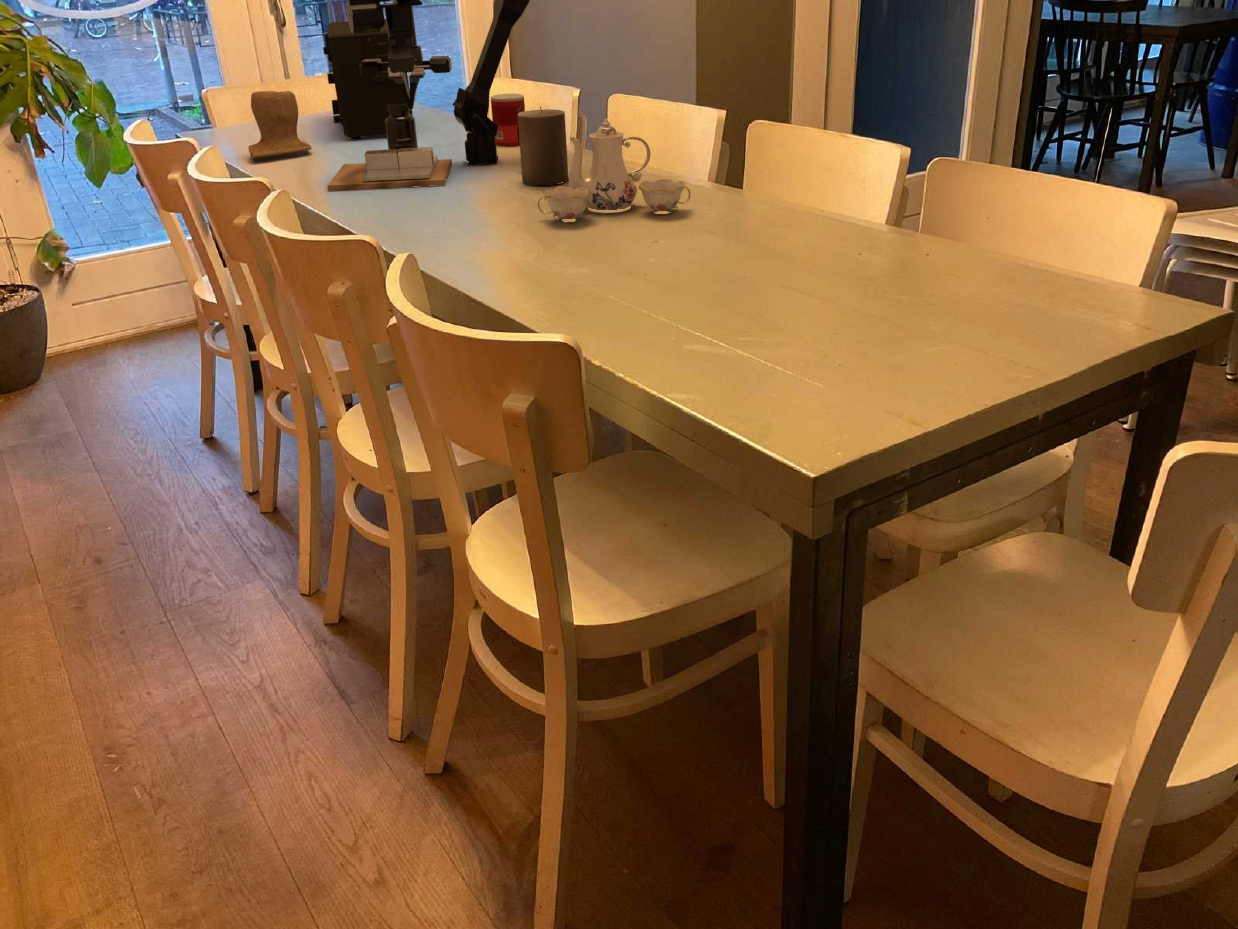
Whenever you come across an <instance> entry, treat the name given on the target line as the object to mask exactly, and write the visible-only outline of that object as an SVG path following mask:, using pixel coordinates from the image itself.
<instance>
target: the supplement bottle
mask: <svg viewBox="0 0 1238 929" xmlns="http://www.w3.org/2000/svg"><path fill="white" fill-rule="evenodd" d="M387 105H388V112H389V115H388V116H387V117H386V119H385V126H386V134H387V135H386V141H387V148H388V149H387V150H391V149H403V148H419V146H418V136H417V128H416V120H415V117H414V116H412V115H411V114H409V111H410V109H409V108H408V105H407V103H406V102H391V103H388V104H387Z"/></svg>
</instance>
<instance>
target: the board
mask: <svg viewBox="0 0 1238 929" xmlns="http://www.w3.org/2000/svg"><path fill="white" fill-rule="evenodd" d="M452 166H453V160H452V158H449V159H448V158H446V159H438V161H437V164H436V166H435V168H434V171H433V172H432V174H431V176H430V178H419V179H399V180H378V181H362V176H363V175H364V173H365V172H366V170H367V168H366V162H364V163H363V162H362V163H358V162H357V163H343V164H342V166H341V167H340V168H339V170H338V171H337V173H336V174H335V175H334V176H333V177H332V179H331V180H330V181H329V183H328V184H327V191H328V192H340V191H341V192H344V191H363V189H367V190H383V189H384V190H385V189H399V188H398V187H408V188H414V187H413V186H428V187H430V186H429V185H445V186H446V183H445V182H447V180H448V178H447V177H449V174H450V172H451V169H450V168H452ZM449 171H450V172H449ZM446 179H447V180H446Z"/></svg>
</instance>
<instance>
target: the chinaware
mask: <svg viewBox="0 0 1238 929" xmlns="http://www.w3.org/2000/svg"><path fill="white" fill-rule="evenodd" d="M588 136H589V138H590V141H591V142H590V143H591V146H592V161H591V168H590V171H589V172H590V173H589V175H588V177H585V178H584V177H583V174H582V173H583V172H582V170H583V169H582V168H583V153H584V152H583V145H582V143H581V141H580V140H579V139H577V138H576V137H575V136H574V137H569V139H568V140H569V141H570V142H571V143H572V144H573V146H574V152H573V157H572V161H571V165H570V167H569V168H570V169H569V171H568V182H569V186H562V185H561V186H558V187H555V188H554V189H553V190H552V191H551V190H543V192H542V194H543V196H541V197H540V198H539V199H538V201H537V208H538V210H539V211H540V212H541V213H542V214H545V215H546V214H547V215H548V214H550V213H551V214H552V218H553V217H555V216H557V218H559V219H561V220H562V219H573V218H575V219H577V218H578V217H580V216H581V215H582V214H583V213H584V212H585V210H586V209H587V208H588V207H589V208H591V209H596V210H617V209H625V208H627V207H629V206H630V205H631V206H632V204H633V202H634V200H635V198H636V196H637V194H638V189H639V191H641V193H642V197H643V199H644V202H645V204H646V205H647V206H648V207H649V208H650V209H651V210H653V211H654V212H655V211H670V210H672V209H674V208H677V209H678V206H677V205H678V204H680V205H681V204H682V205H683V204H686V203H688V202H689V200H690V198H691V191H690V189H689V187H687V186H686V185H685V184H686V182H685V181H684V180H679V181H674V180H672V179H669V178H660V179H657V180H655V181H649V180H642V181H641V182H640V183H639V186H638V187H637V185H636V184H635V183H638V182H639V181H640V180H641V179H642V176H643V175H642V173H641V172H640V171H642V170H644V169H645V167H647V165H648V164H649V162H650V161H651V160H650V158H651V148H650V146H649V144H648V142H647V141H645V139H643V138H641V137H640V136H627V137H624V136H626V135H625V133H624V132H621V131H617V130H616V127H614V126H612V125H611V122H609V119H608V118H604V120H603V122H602V126H600V127H598V128H597V130H596V132H593V133H590V134H588ZM627 140H633V141H634V140H635V141H638V142H641V143H642V144H643V145H644V147H645V148H646V158H645V160H644V163H643V164H642V165H641V166H640V167H637V168H636V169H634V170H631V171H629V173H628V170H627V169H626V166H625V162H624V157H623V146H624V147H625V148H627V149H628V148H630V147H631V142H629V141H627ZM685 189H686V190H687V191H688V197H687V199H686V200H685V201H682V202H681V201H680V199H681V197H682V192H683V191H684V190H685ZM542 199H544V201H547V204H548V207H549V209H550V210H551V211H544V210H542V208H541V206H540V204H541V202H540V201H541V200H542ZM576 217H577V218H576Z"/></svg>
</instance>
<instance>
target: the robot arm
mask: <svg viewBox="0 0 1238 929" xmlns="http://www.w3.org/2000/svg"><path fill="white" fill-rule="evenodd" d="M390 1H391V0H347V14H346V16H347V21H348V23H349V27H350V31H351V33H352V34H358V33H371V32H380V28H381V27H383V26H384V25H385V19H386V24H387V31H388V39H389V49H388V61H389V62H381V59H364V60H363V61H362V62H361V63H360V64H359V70H360V76H375V75H376V74H377V73H378V72H384V71H388V73H389V77H388V78H389V79H393V80H394V81H395V82H396V84H397V85H398V87H399V88H400V90H401V92H402V94H403V97H404V99H405V101H406V103H407V105H408V108H409V109H412V110H413V109H414V106H415V100H416V95H417V90H418V86H419V84H420V79H422V78H423V79H424V77H425V76H426V71H427V70H430V71H432V72H433V73H434V74H448V73H451V71H452V70H453V69H452V66H453V65H452V59H451V58H450V57H449V56H448V55H433V56H431V57H430V58H429V60H424V56H423V51H422V48H421V47H422V46H421V45H418V42H417V34H416V32H417V31H416V24H415V16H414V7H415V6H422V5H423V2H422V1H421V0H392V2H391V3H388V2H390ZM530 1H531V0H493V6H492V9H493V10H492V12H493V13H492V14H493V15H492V22H491V23H490V27H489V28H488V32H487V35H486V39H485V41H484V45H483V47H482V50H481V52H480V55H479V58H478V60H477V64H476V66H475V69H474V72H473V74H472V78H471V81H470V82H469V84H468V86H466V88H465V89H463V88H462V87H458V90H457V94H456V98H455V100H454V102H452V104H451V105H452V106H453V107H454V108H453V116H454V118H455V120H456V121H457V122H458V124H460V125H461V126H462V127H463V128H464V130H465V132H466V139H465V141H464V150H465V158H466V162H467V165H468V166H473V165H474V166H475V165H476V166H478V165H493V164H495V165H496V164H498V162H499V155H498V151H497V150H498V148H497V147H498V146H497V145H496V134H497V130H498V126H497V125H496V124H495V123H494V122H493V120H492V118H489V117H488V114H489V109H490V94H491V93H490V92H491V89H492V85H493V83H494V80H495V77H496V74H497V71H498V69H499V66H500V63H501V61H502V57H503V54H504V51H505V48H506V46H507V43H508V41H509V38H510V35H511V33H512V30H513V27H514V26H515V24H516V23H517V22H518V21H519V20H520V18H521V17H522V15H523V13H525V10H526V9H527V7H528V5H529V3H530ZM385 2H387V3H385ZM402 72H407V74H408V73H409V74H410V75H408V82H409V89H408V85H407V80H406V75H405V73H402ZM409 90H410V94H409Z"/></svg>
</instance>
